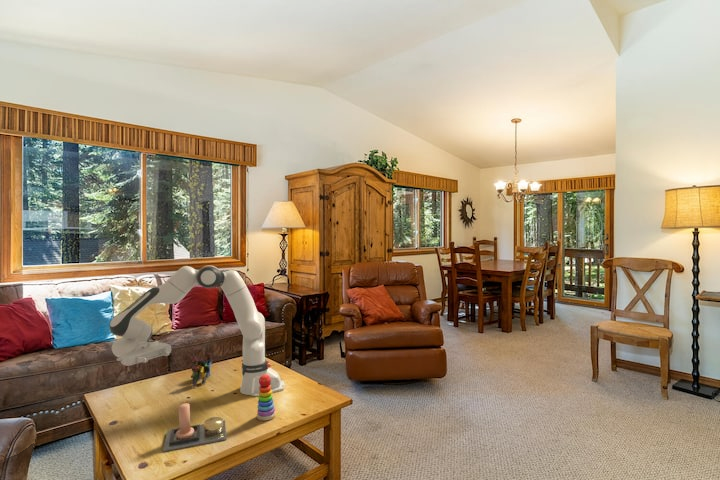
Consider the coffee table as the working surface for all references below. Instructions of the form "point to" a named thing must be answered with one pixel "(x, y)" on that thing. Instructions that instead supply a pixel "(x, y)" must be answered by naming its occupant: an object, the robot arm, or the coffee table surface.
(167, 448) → the carrier plate
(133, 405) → the coffee table surface
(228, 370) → the coffee table surface
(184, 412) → the pink peg on base
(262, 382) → the stacking toy
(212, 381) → the coffee table surface
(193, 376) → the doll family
